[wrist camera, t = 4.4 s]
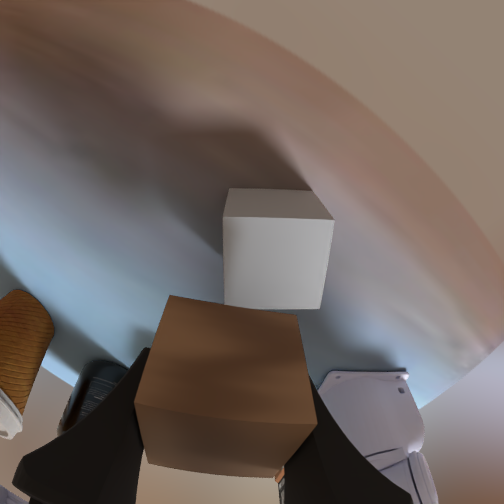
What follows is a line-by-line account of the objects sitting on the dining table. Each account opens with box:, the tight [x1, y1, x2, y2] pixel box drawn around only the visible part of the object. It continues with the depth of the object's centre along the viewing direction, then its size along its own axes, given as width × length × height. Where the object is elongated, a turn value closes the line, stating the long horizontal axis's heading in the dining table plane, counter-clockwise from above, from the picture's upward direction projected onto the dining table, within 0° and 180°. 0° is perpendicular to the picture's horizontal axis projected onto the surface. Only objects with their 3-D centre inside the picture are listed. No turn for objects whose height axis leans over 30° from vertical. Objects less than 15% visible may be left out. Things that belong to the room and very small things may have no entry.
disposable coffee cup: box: [0, 290, 54, 439], centre depth 17 cm, size 10×10×12 cm
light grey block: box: [223, 188, 334, 309], centre depth 16 cm, size 5×5×5 cm
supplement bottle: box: [57, 360, 128, 436], centre depth 20 cm, size 7×7×12 cm
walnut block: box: [134, 295, 318, 478], centre depth 10 cm, size 5×5×5 cm
